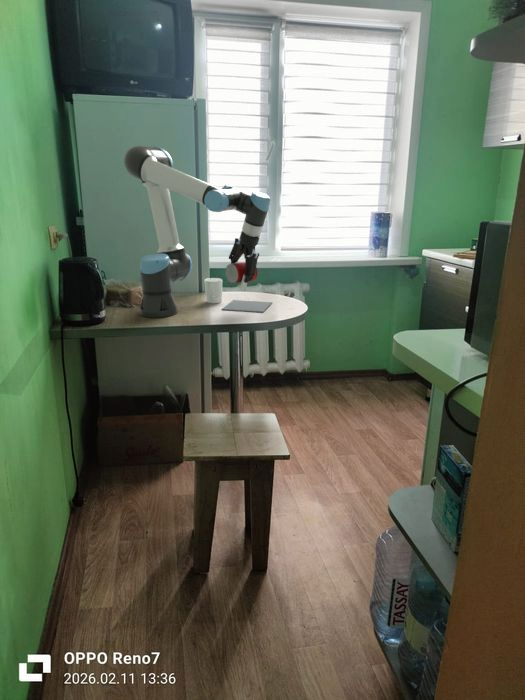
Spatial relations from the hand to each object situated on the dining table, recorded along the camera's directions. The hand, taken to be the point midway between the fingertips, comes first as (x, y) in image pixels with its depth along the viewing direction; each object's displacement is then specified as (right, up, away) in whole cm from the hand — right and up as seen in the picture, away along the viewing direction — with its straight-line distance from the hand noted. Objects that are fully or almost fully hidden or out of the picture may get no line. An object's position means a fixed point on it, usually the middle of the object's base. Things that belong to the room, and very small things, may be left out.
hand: (236, 282), depth 205 cm
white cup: (-11, -7, +16) cm, 20 cm away
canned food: (+7, +5, +2) cm, 8 cm away
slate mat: (+4, -9, +7) cm, 13 cm away
